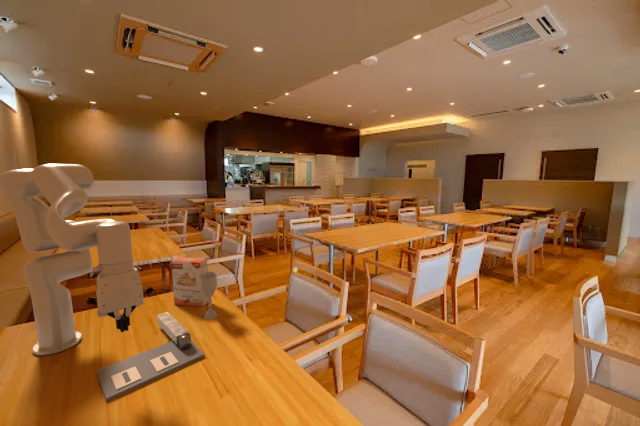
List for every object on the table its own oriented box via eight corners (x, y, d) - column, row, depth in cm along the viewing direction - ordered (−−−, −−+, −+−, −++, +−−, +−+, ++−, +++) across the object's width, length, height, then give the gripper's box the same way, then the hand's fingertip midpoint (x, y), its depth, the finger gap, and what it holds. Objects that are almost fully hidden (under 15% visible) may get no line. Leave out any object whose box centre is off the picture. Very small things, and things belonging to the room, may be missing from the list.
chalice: (213, 321, 115) (211, 278, 112) (198, 319, 116) (195, 277, 113) (222, 312, 122) (221, 272, 119) (208, 311, 123) (206, 271, 120)
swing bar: (168, 320, 113) (167, 311, 112) (193, 346, 96) (193, 335, 96) (157, 324, 110) (156, 315, 109) (181, 351, 94) (180, 340, 93)
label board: (96, 373, 85) (96, 369, 85) (186, 337, 103) (186, 334, 103) (106, 401, 75) (105, 397, 74) (204, 356, 93) (204, 352, 93)
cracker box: (173, 305, 128) (170, 260, 125) (182, 299, 134) (179, 256, 131) (202, 308, 126) (199, 262, 123) (209, 301, 132) (207, 258, 129)
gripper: (84, 277, 70) (92, 346, 73) (151, 263, 81) (157, 324, 83) (79, 270, 75) (87, 335, 78) (144, 258, 86) (149, 315, 88)
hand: (123, 329), depth 81 cm, fingers closed
